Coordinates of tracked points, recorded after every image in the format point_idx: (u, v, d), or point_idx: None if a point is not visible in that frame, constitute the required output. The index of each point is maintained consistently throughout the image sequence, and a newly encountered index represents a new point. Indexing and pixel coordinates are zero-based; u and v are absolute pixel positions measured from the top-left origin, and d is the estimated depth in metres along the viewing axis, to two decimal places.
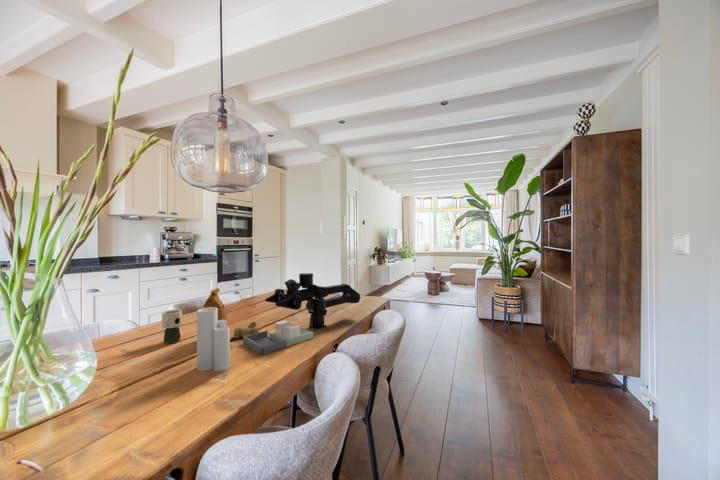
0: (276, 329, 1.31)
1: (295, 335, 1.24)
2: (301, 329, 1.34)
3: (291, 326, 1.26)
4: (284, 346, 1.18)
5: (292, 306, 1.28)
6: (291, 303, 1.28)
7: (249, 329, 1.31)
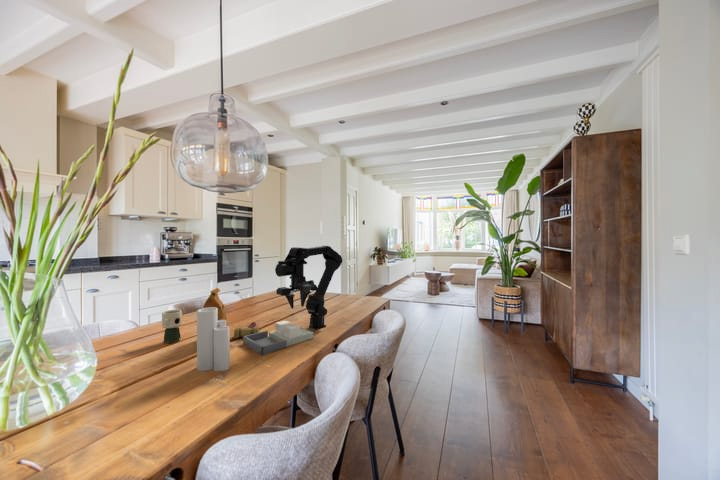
0: (276, 329, 1.31)
1: (295, 335, 1.24)
2: (301, 329, 1.34)
3: (291, 326, 1.26)
4: (284, 346, 1.18)
5: None
6: None
7: (249, 329, 1.31)
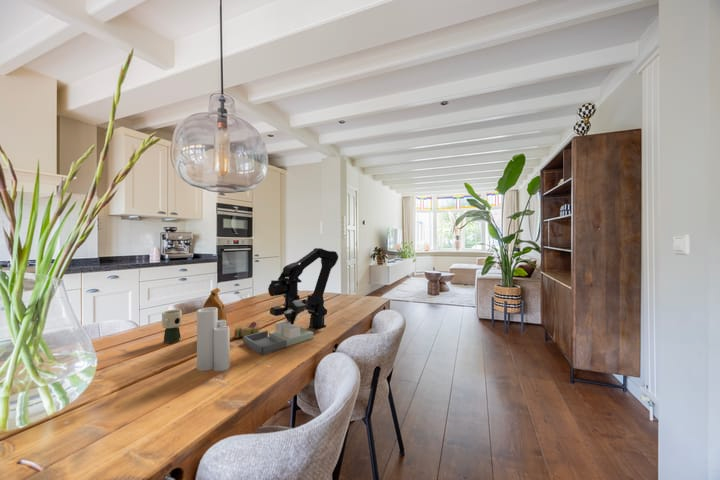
0: (276, 329, 1.31)
1: (295, 335, 1.24)
2: (301, 329, 1.34)
3: (291, 326, 1.26)
4: (284, 346, 1.18)
5: None
6: None
7: (249, 329, 1.31)
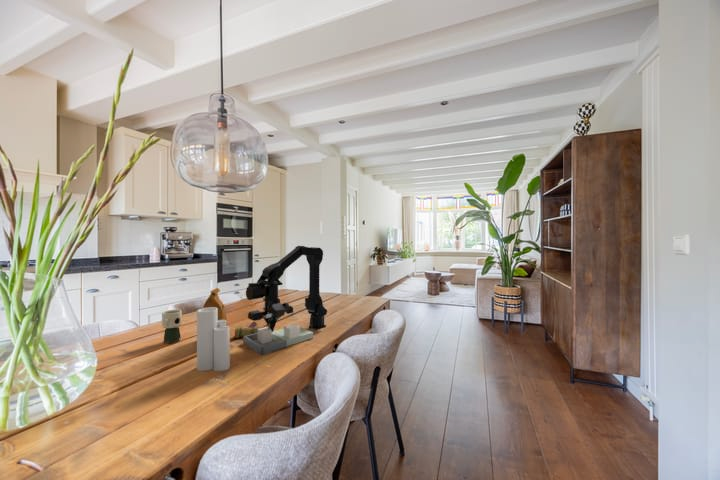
0: None
1: (295, 335, 1.24)
2: (301, 329, 1.34)
3: (291, 326, 1.26)
4: (284, 346, 1.18)
5: None
6: None
7: (250, 329, 1.32)
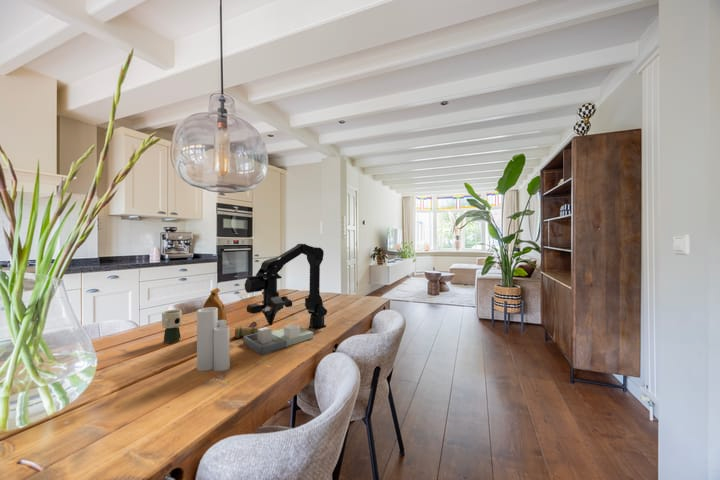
0: None
1: (295, 335, 1.24)
2: (301, 329, 1.34)
3: (291, 326, 1.26)
4: (284, 346, 1.18)
5: None
6: None
7: (250, 328, 1.32)
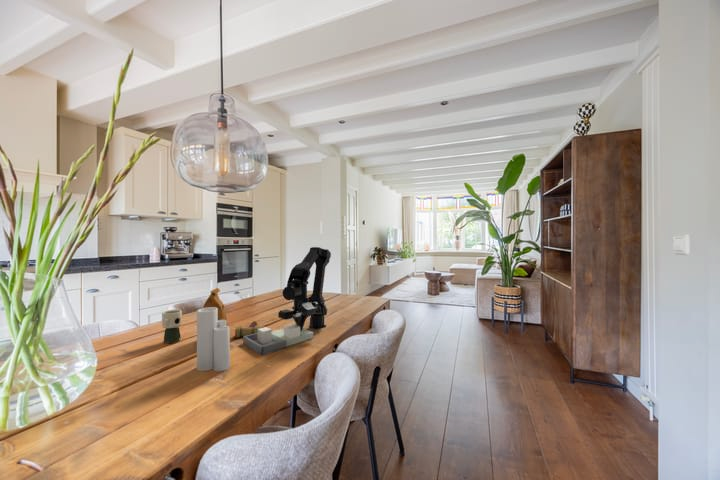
0: None
1: (295, 335, 1.24)
2: None
3: (291, 326, 1.26)
4: (284, 346, 1.18)
5: None
6: None
7: (250, 328, 1.32)
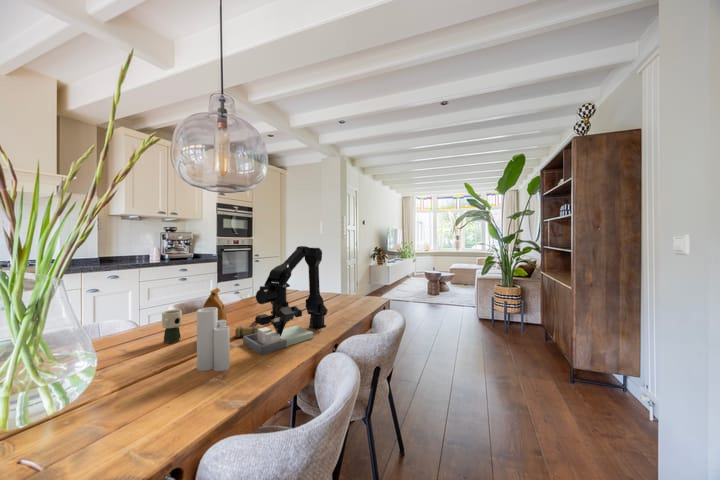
0: None
1: (278, 340, 1.19)
2: (301, 329, 1.34)
3: (267, 340, 1.18)
4: (284, 346, 1.18)
5: None
6: None
7: (250, 328, 1.32)
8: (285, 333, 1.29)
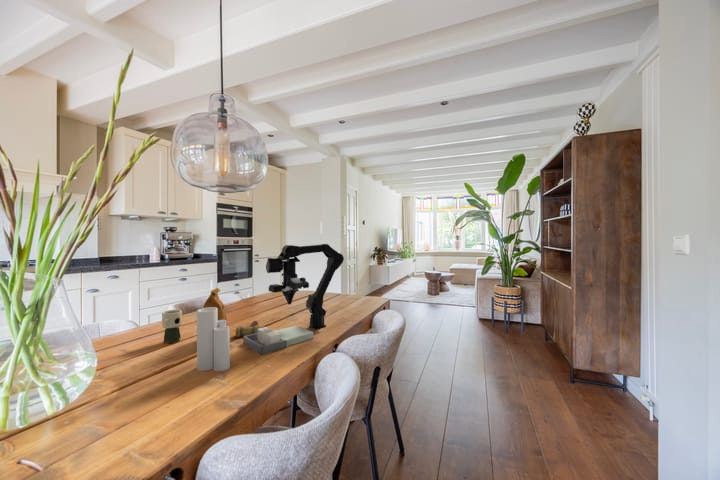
0: None
1: (278, 340, 1.19)
2: (301, 329, 1.34)
3: (267, 340, 1.18)
4: (284, 346, 1.18)
5: None
6: None
7: (250, 328, 1.33)
8: (285, 333, 1.29)
